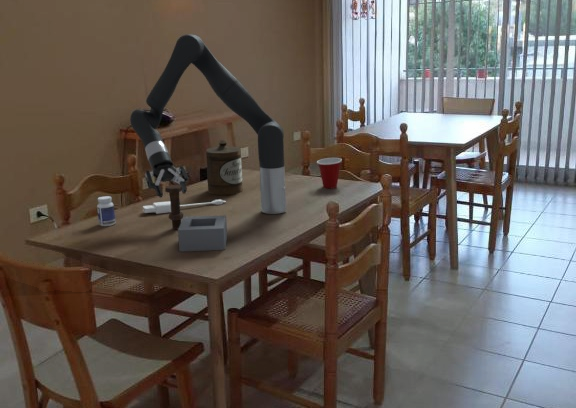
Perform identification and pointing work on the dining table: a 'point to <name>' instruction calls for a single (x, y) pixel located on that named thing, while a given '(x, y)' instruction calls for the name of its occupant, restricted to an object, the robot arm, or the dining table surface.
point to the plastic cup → (329, 171)
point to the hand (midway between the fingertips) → (173, 194)
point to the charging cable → (166, 207)
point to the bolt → (175, 205)
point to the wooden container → (224, 169)
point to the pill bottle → (106, 211)
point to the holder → (202, 233)
